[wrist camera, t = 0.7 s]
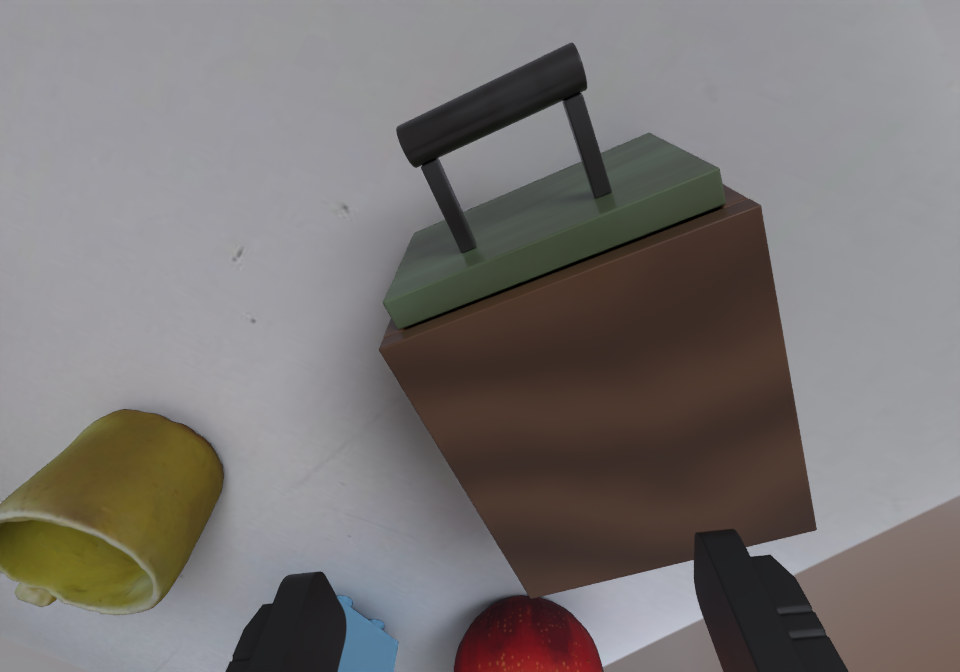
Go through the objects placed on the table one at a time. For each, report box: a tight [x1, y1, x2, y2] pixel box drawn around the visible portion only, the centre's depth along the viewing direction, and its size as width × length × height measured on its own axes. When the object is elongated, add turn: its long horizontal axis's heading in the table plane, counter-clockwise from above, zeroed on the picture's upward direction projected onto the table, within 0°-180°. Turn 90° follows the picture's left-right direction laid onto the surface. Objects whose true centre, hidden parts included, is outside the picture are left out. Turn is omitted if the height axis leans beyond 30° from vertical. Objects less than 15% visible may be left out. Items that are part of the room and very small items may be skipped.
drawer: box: [383, 43, 726, 329], centre depth 22 cm, size 18×11×8 cm, turn 23°
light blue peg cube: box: [337, 596, 398, 672], centre depth 37 cm, size 12×6×8 cm, turn 37°
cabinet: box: [379, 184, 817, 599], centre depth 23 cm, size 15×13×10 cm
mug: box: [0, 409, 224, 615], centre depth 30 cm, size 12×10×10 cm
